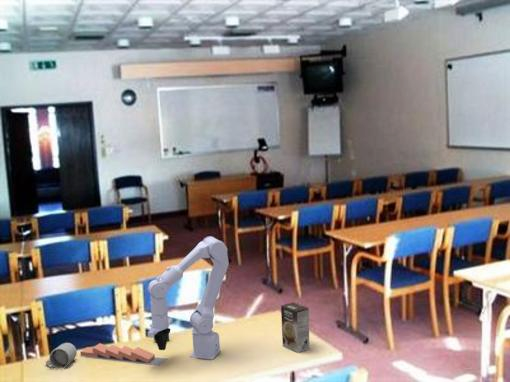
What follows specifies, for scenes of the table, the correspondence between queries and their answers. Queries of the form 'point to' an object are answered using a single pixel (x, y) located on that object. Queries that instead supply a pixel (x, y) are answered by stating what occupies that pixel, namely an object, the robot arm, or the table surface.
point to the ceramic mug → (62, 355)
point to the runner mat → (154, 362)
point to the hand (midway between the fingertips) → (162, 349)
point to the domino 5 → (142, 355)
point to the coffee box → (295, 327)
